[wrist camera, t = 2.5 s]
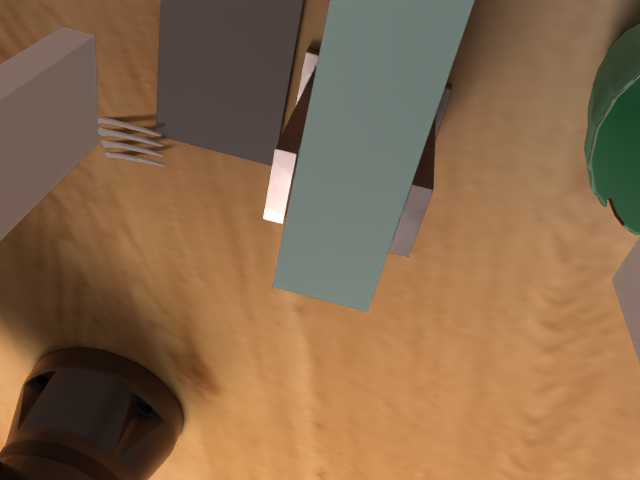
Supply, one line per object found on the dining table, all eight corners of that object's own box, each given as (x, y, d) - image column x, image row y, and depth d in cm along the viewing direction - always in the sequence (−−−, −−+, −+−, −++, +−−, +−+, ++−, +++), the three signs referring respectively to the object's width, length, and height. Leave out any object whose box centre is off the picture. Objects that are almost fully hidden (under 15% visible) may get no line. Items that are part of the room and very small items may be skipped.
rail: (297, 214, 33) (272, 286, 28) (436, -428, 18) (432, -508, 13) (379, 236, 33) (367, 311, 28) (583, -392, 18) (632, -459, 13)
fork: (-152, 101, 44) (-172, 111, 42) (169, 116, 40) (159, 128, 39) (-131, 141, 46) (-149, 153, 44) (177, 159, 42) (167, 172, 41)
